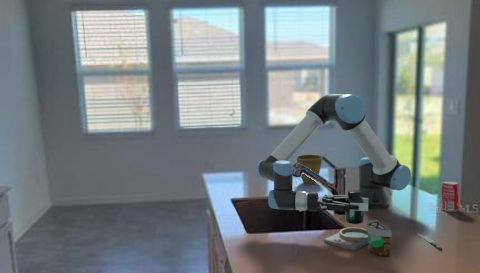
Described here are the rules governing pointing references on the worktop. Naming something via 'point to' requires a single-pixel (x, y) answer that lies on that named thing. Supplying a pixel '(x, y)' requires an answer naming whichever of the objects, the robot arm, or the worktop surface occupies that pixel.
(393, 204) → the worktop surface
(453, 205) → the soda can
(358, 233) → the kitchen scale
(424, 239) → the chef's knife
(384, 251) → the food container
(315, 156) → the plant pot
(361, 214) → the supplement bottle
